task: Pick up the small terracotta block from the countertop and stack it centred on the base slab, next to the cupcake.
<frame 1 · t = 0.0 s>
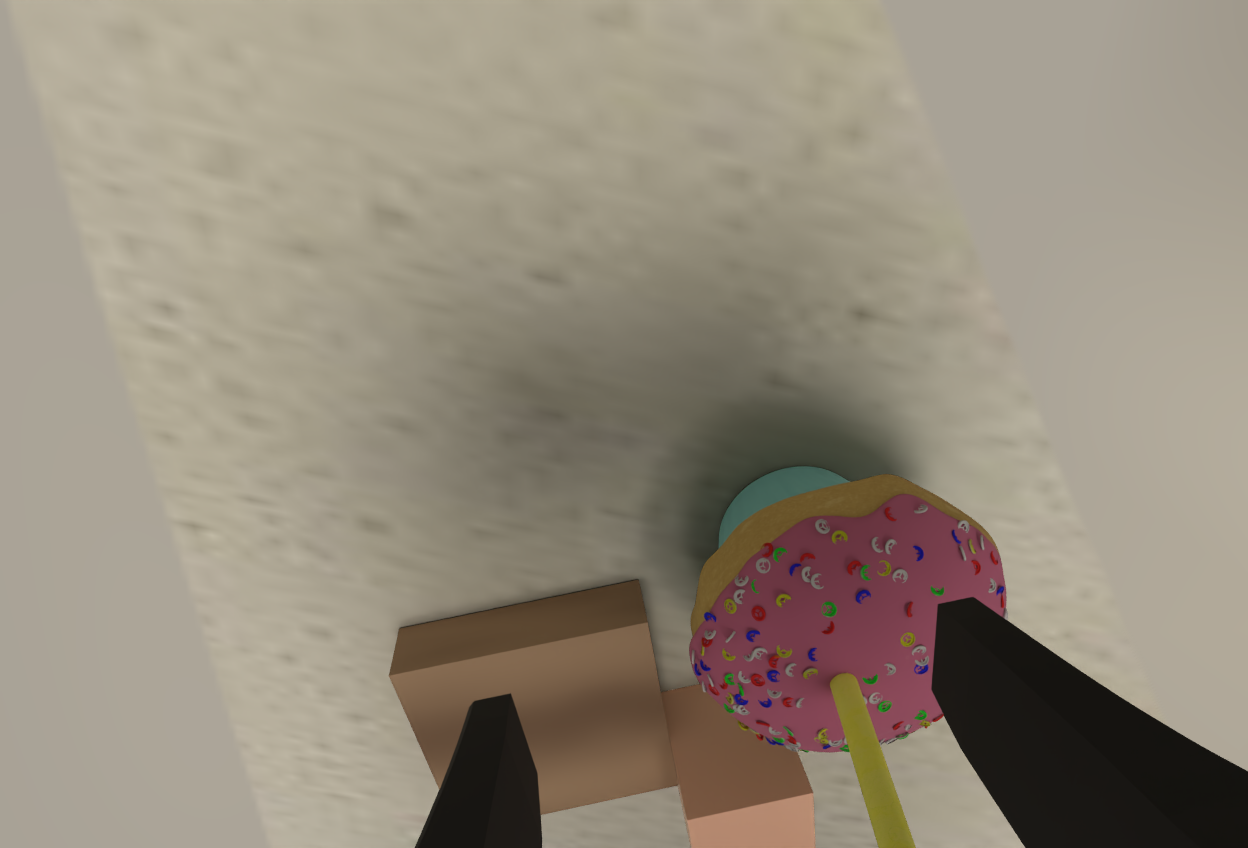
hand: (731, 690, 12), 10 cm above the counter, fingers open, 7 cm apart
block: (717, 716, 27), on the counter
base: (544, 687, 25), on the counter
cupcake: (790, 519, 23), on the counter
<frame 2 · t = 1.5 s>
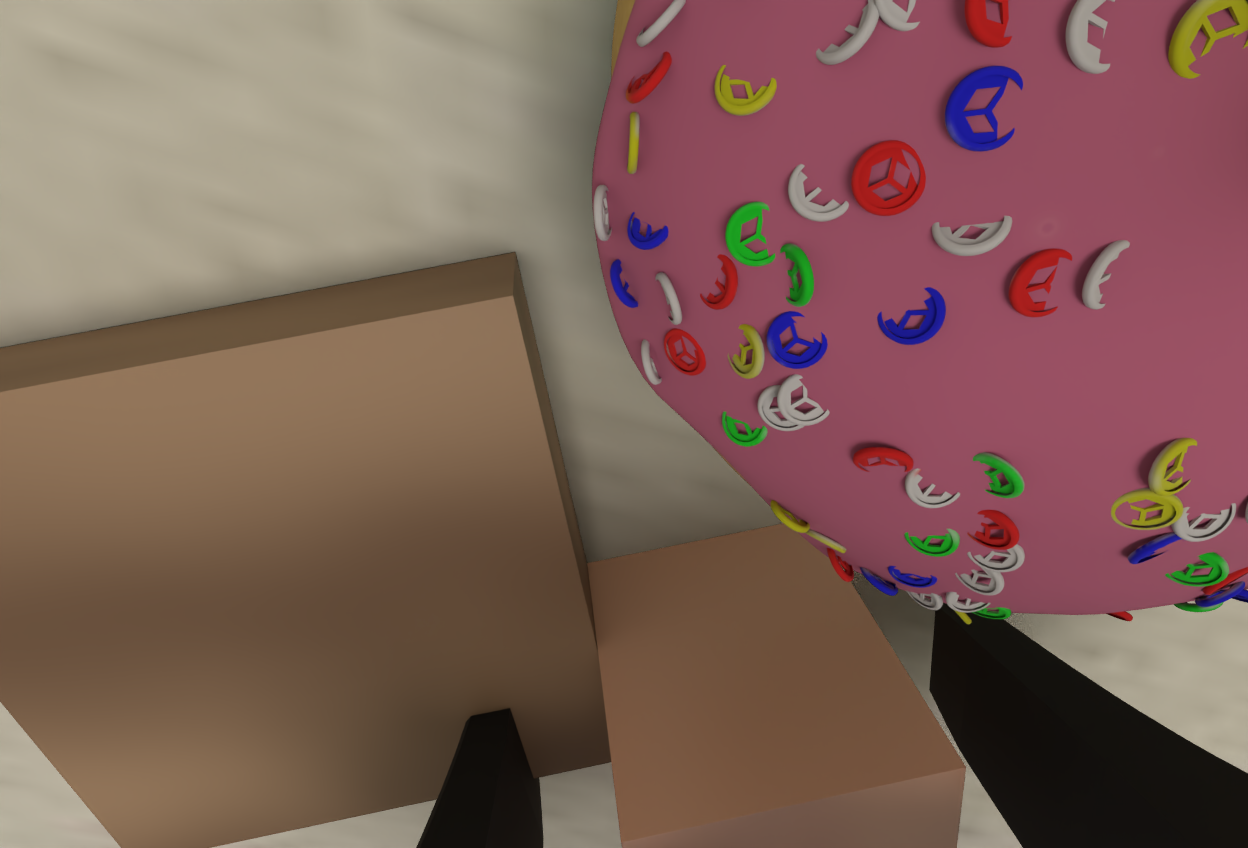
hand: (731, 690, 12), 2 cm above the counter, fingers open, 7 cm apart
block: (710, 623, 13), on the counter
base: (326, 542, 11), on the counter
cupcake: (885, 103, 10), on the counter
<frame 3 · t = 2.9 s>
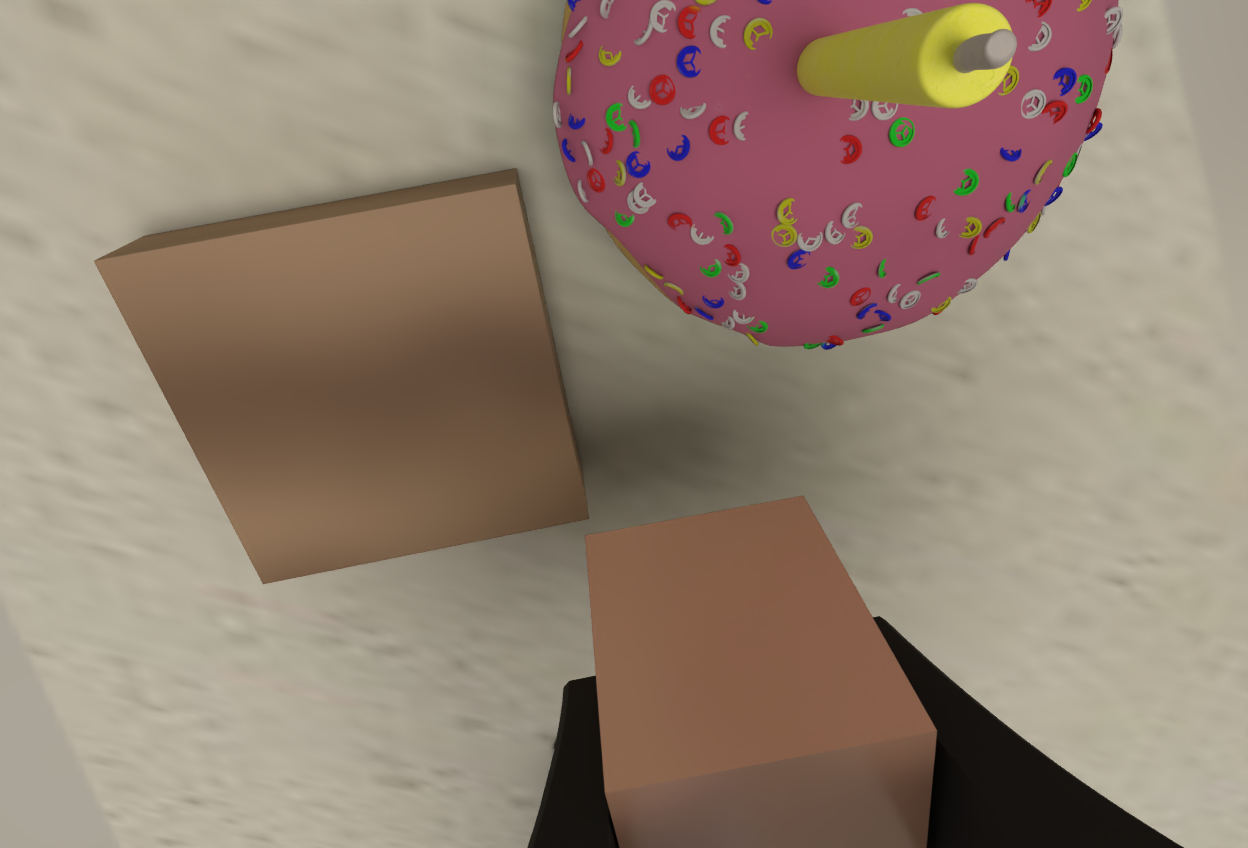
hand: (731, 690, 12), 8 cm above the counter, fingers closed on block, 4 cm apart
block: (705, 598, 14), point 6 cm above the counter, touching gripper
base: (390, 370, 17), on the counter
cupcake: (749, 74, 15), on the counter
when the fingers open (5 cm above the counter, at t = 4.5 s): block stays where it is, resting on base.
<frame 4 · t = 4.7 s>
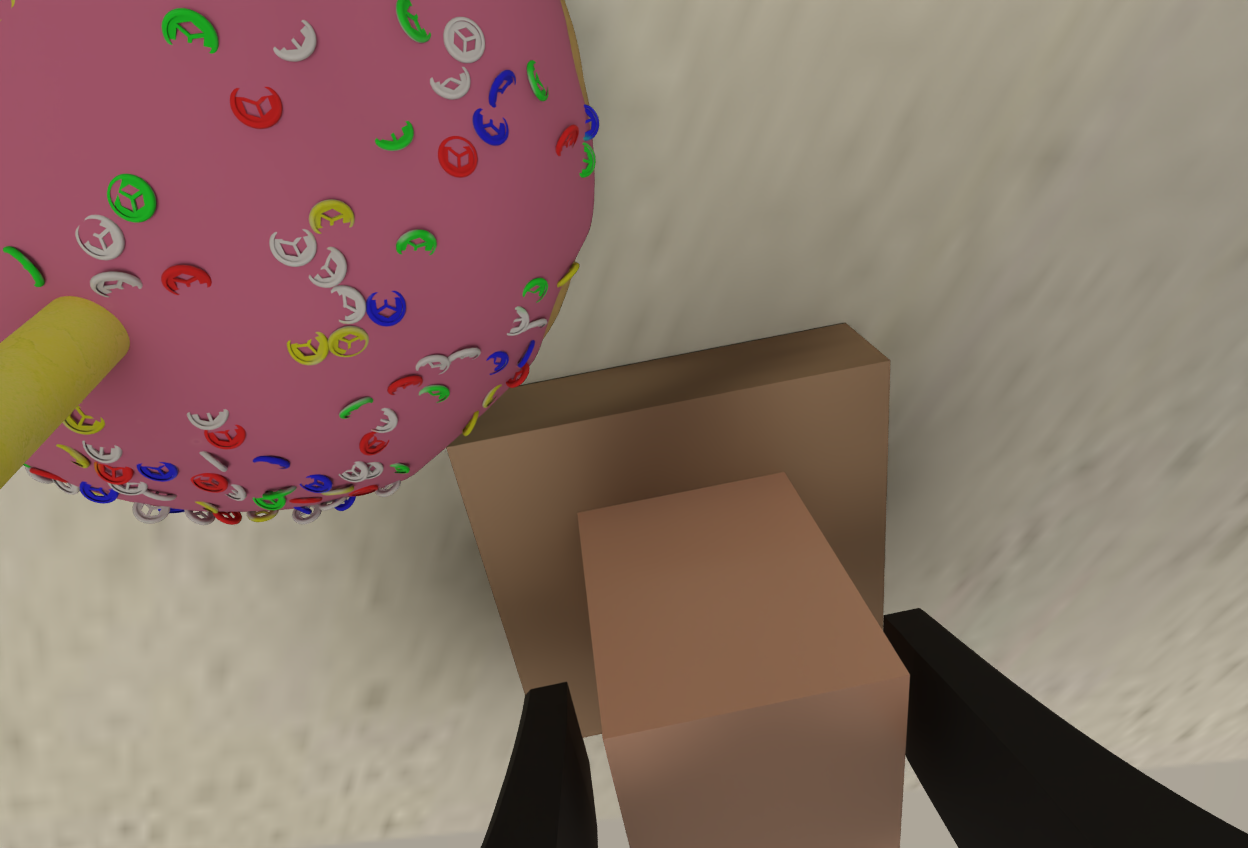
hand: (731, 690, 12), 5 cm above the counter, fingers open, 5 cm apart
block: (692, 573, 14), point 2 cm above the counter, touching base
base: (676, 519, 16), on the counter
cupcake: (312, 121, 12), on the counter
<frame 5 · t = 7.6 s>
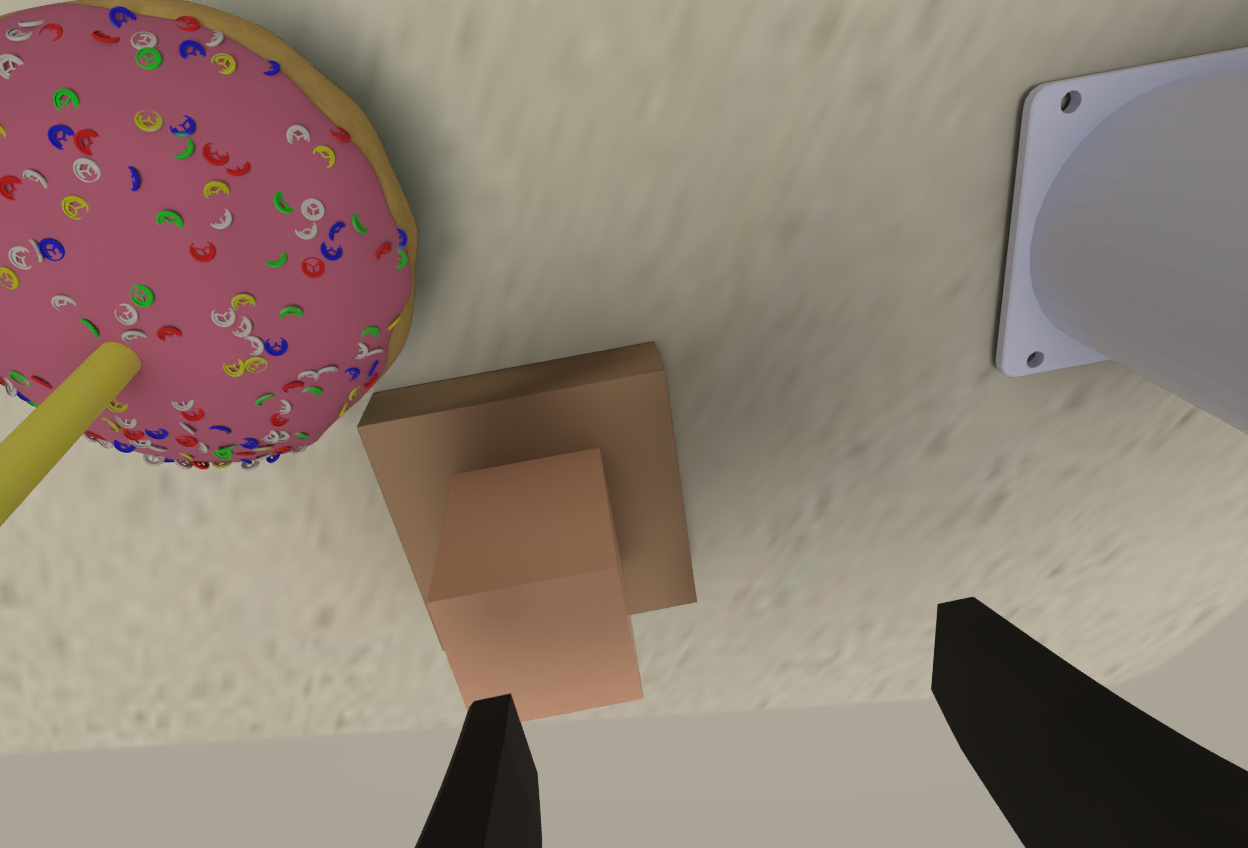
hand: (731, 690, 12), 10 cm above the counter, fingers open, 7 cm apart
block: (541, 520, 20), point 2 cm above the counter, touching base
base: (543, 484, 22), on the counter
cupcake: (265, 206, 17), on the counter
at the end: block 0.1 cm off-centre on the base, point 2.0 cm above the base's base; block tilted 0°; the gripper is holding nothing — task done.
